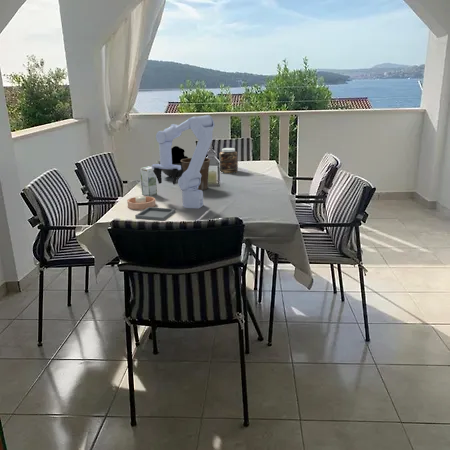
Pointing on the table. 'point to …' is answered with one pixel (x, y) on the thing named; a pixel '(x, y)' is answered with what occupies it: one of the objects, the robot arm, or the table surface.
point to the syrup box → (148, 181)
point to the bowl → (149, 203)
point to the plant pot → (203, 171)
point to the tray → (155, 213)
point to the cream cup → (140, 199)
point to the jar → (228, 160)
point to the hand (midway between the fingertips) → (167, 183)
